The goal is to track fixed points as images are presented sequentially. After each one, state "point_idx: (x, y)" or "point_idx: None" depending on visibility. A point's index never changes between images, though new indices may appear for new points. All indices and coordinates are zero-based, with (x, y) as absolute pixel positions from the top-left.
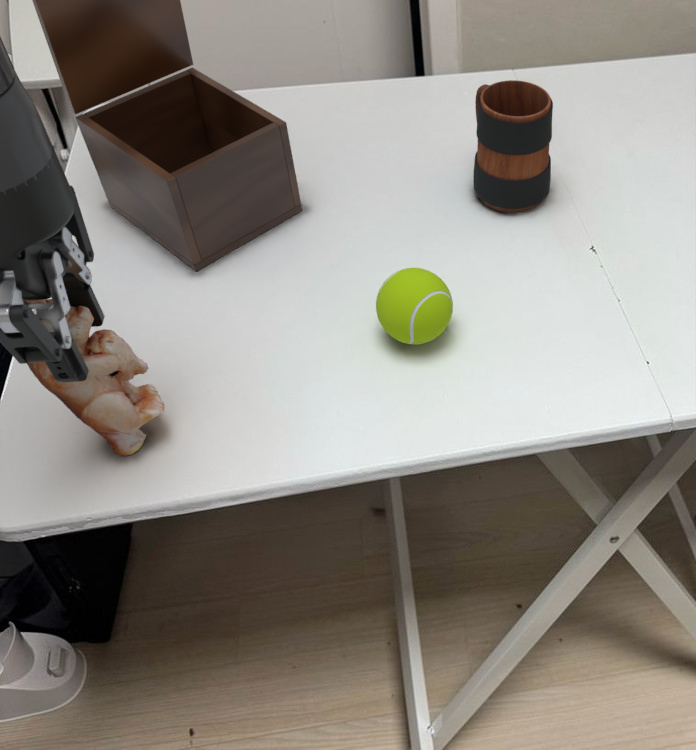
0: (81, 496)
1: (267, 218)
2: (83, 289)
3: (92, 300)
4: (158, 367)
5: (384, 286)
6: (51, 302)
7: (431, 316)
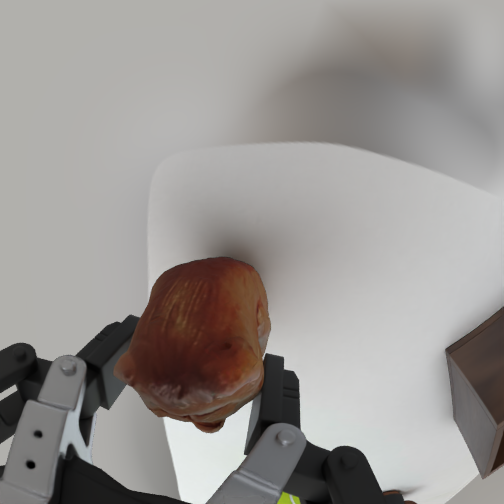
0: (167, 224)
1: (456, 408)
2: (249, 450)
3: (247, 433)
4: (331, 312)
5: (286, 498)
6: (196, 420)
7: None
